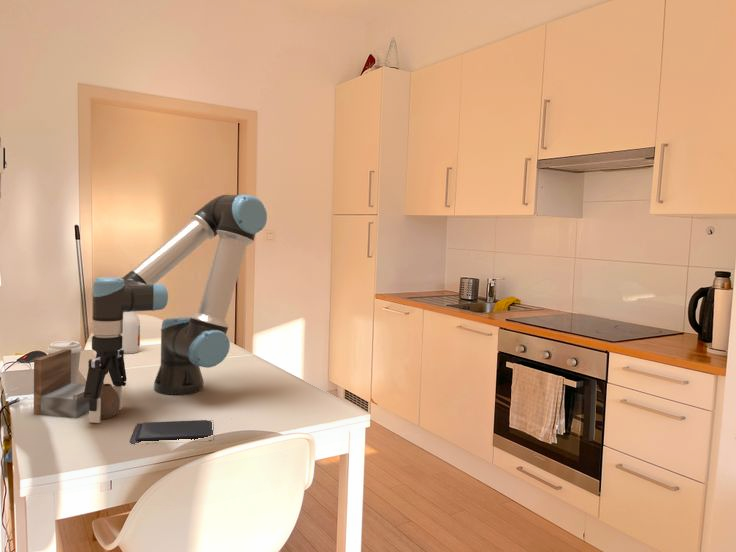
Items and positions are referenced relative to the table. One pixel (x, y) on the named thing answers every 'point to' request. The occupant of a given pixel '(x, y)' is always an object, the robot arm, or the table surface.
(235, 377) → the table surface
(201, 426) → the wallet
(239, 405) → the table surface
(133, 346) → the milk bottle
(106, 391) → the vase
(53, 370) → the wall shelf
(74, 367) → the coffee cup
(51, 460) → the table surface
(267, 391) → the table surface
